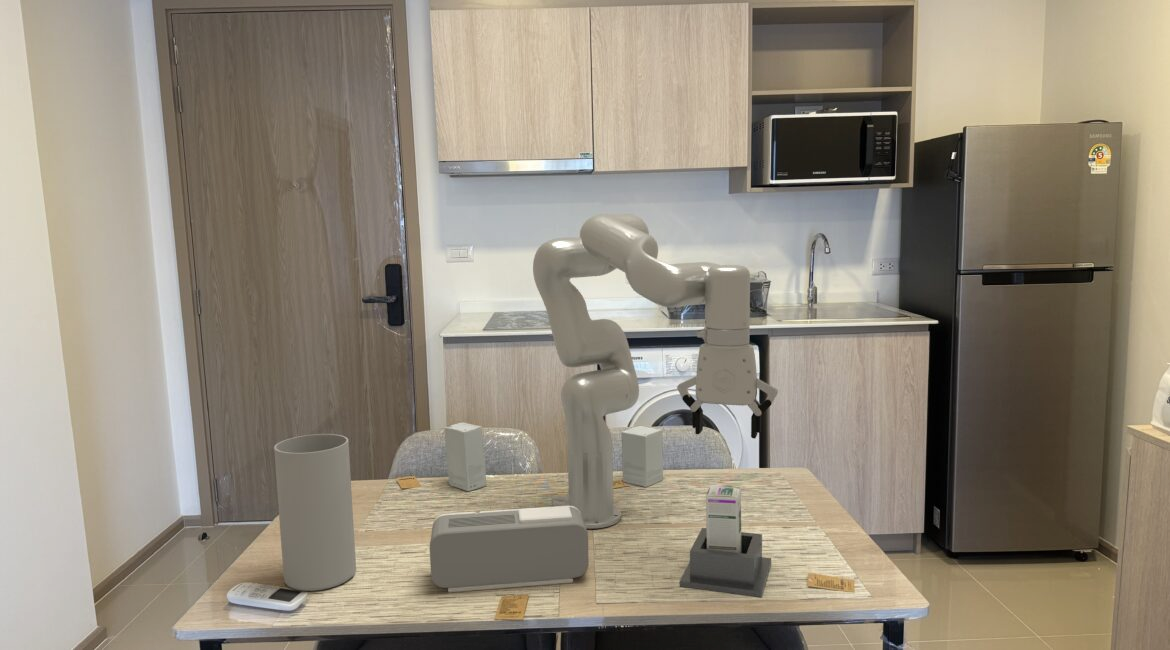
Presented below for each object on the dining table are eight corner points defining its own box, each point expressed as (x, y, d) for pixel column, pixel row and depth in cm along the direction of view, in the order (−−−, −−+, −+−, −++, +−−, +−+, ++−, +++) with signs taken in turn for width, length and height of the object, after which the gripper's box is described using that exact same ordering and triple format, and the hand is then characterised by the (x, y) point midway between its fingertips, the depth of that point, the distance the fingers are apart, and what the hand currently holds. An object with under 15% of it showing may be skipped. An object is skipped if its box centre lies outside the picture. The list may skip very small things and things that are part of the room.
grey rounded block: (582, 561, 152) (581, 500, 150) (589, 583, 143) (587, 518, 141) (434, 572, 148) (431, 510, 147) (431, 595, 139) (428, 529, 138)
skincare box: (487, 486, 195) (484, 426, 193) (466, 492, 191) (464, 431, 189) (466, 479, 201) (464, 420, 199) (446, 484, 197) (443, 425, 195)
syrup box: (739, 577, 141) (740, 496, 139) (705, 574, 143) (705, 494, 141) (741, 563, 147) (742, 486, 145) (709, 560, 148) (708, 484, 146)
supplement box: (664, 480, 197) (663, 429, 195) (645, 488, 192) (645, 436, 190) (639, 474, 202) (639, 424, 200) (621, 481, 196) (620, 431, 195)
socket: (679, 586, 140) (679, 553, 140) (695, 554, 153) (695, 524, 153) (761, 597, 136) (761, 563, 135) (771, 563, 149) (771, 532, 148)
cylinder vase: (286, 598, 139) (276, 457, 136) (282, 570, 150) (272, 439, 147) (361, 584, 144) (352, 447, 141) (351, 557, 155) (343, 430, 152)
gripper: (672, 339, 138) (672, 436, 141) (776, 342, 133) (774, 444, 135) (682, 332, 145) (682, 425, 148) (781, 336, 140) (779, 432, 142)
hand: (726, 434), depth 141 cm, fingers open, 9 cm apart
